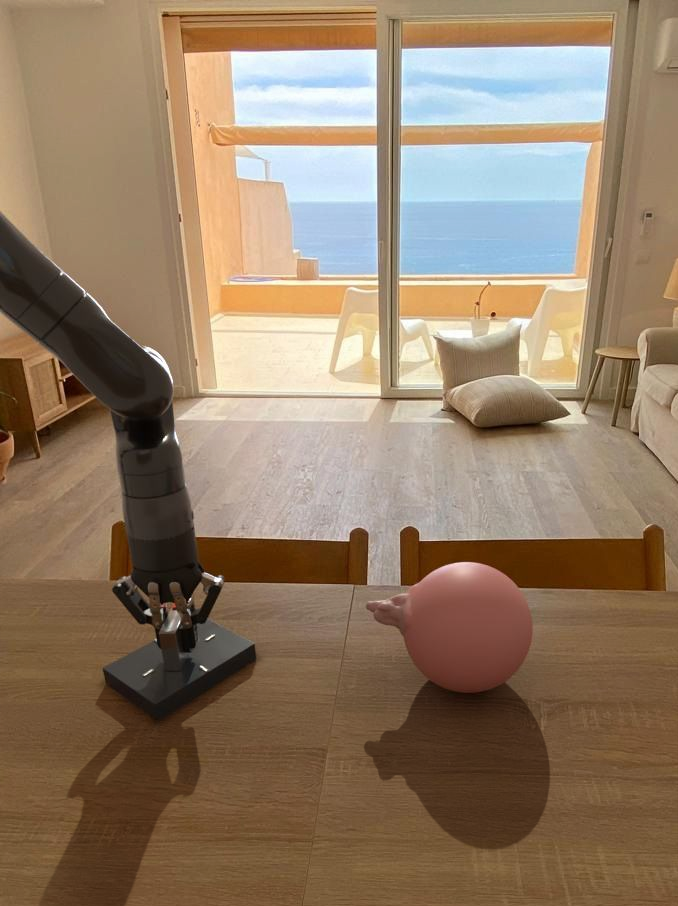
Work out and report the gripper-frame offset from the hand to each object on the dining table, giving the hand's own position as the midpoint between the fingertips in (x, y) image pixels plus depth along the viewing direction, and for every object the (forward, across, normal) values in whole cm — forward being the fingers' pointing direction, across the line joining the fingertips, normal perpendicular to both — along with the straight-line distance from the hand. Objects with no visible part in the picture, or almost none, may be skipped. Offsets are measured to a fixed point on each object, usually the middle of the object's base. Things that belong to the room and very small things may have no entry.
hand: (179, 648), depth 87 cm
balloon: (+4, +33, -2) cm, 34 cm away
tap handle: (+1, 0, 0) cm, 1 cm away
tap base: (+4, 0, 0) cm, 4 cm away
